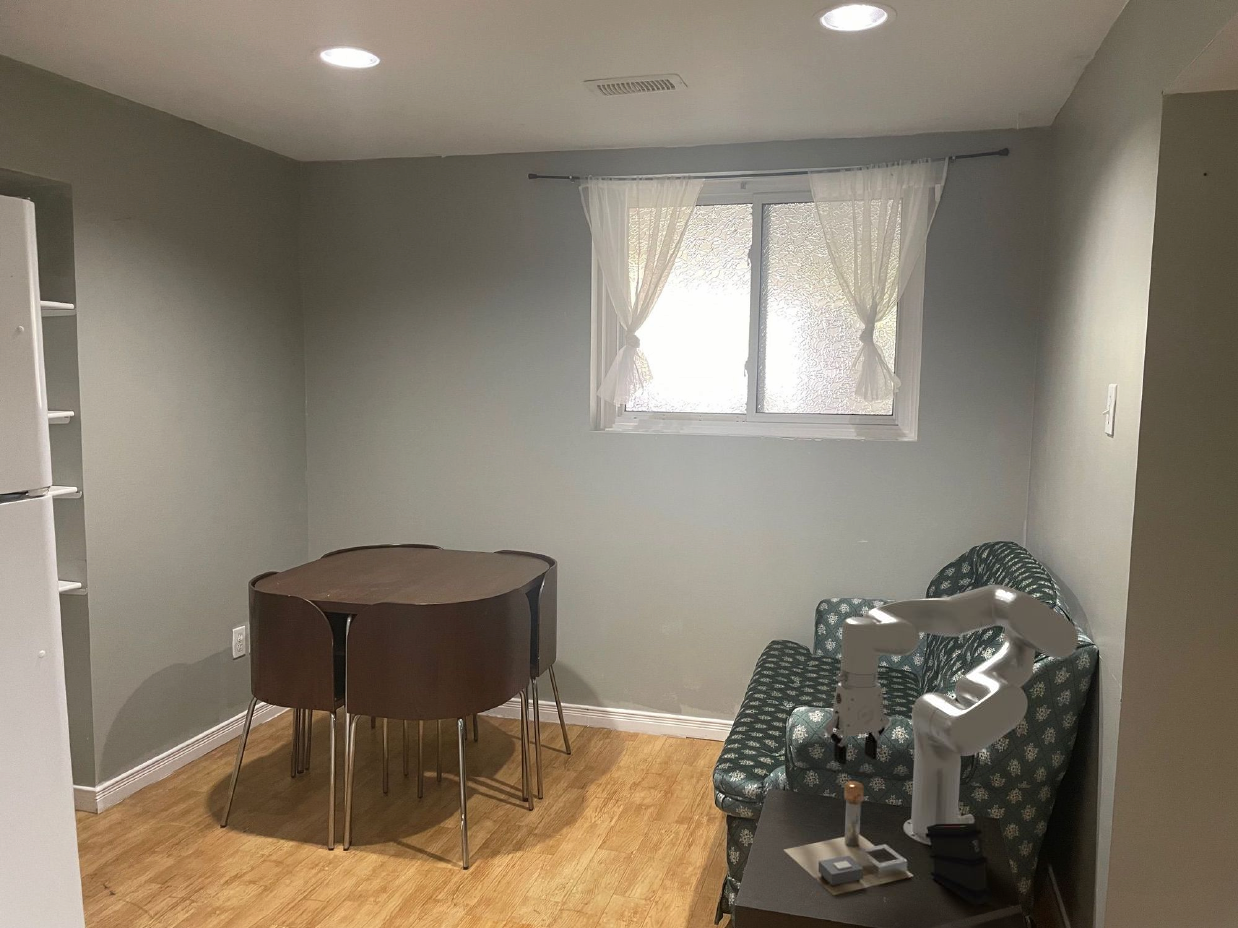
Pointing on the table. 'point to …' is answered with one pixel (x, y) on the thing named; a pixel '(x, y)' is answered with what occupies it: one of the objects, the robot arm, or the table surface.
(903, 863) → the socket
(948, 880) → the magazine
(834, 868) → the block
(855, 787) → the awl
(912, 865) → the table surface
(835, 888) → the board
